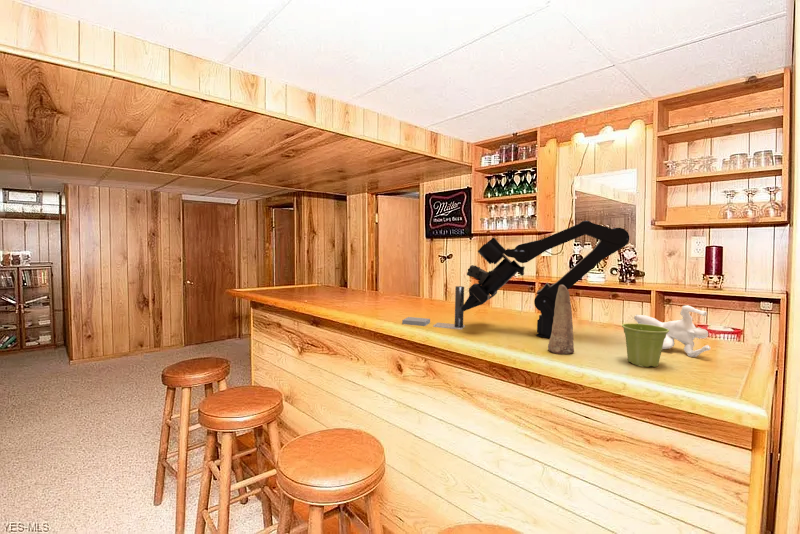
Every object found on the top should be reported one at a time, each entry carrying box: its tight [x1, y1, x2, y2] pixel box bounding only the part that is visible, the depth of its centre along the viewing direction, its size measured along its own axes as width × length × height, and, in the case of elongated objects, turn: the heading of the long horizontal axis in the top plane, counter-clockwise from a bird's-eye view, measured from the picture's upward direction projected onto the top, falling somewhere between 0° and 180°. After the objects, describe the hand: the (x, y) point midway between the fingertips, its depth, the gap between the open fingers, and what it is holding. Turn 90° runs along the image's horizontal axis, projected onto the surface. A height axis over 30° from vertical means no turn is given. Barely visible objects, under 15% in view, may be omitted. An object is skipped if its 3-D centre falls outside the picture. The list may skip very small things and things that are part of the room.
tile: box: [401, 316, 431, 327], centre depth 135 cm, size 2×6×8 cm
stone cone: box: [547, 285, 575, 355], centre depth 101 cm, size 6×18×6 cm
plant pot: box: [621, 323, 669, 368], centre depth 93 cm, size 9×9×9 cm
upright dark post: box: [432, 285, 466, 331], centre depth 131 cm, size 10×5×14 cm, turn 67°
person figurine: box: [634, 305, 711, 358], centre depth 106 cm, size 13×13×18 cm
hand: (465, 308), depth 129 cm, fingers open, 9 cm apart
